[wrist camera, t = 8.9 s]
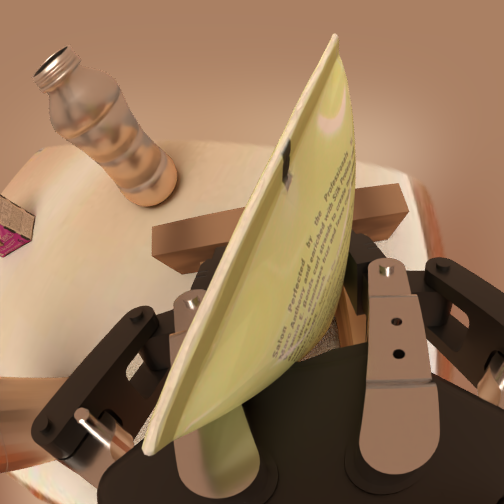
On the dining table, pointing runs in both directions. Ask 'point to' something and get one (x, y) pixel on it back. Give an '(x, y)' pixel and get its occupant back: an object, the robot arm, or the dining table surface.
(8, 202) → the candy bar box
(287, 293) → the tube
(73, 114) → the plastic bottle
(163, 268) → the dining table surface
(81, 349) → the dining table surface
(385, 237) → the wooden plank
